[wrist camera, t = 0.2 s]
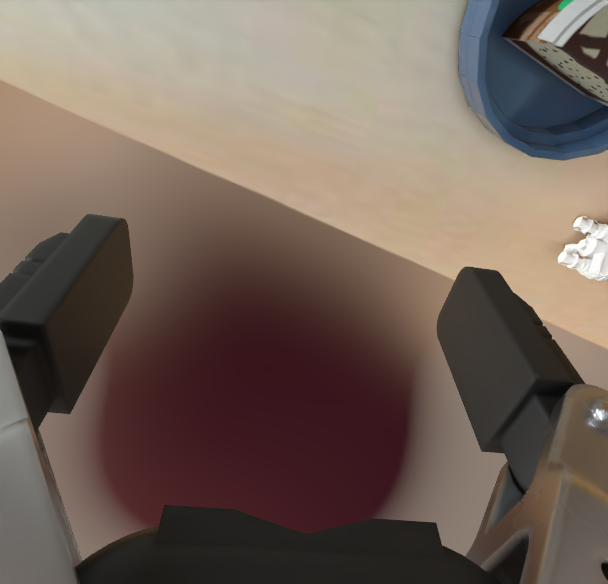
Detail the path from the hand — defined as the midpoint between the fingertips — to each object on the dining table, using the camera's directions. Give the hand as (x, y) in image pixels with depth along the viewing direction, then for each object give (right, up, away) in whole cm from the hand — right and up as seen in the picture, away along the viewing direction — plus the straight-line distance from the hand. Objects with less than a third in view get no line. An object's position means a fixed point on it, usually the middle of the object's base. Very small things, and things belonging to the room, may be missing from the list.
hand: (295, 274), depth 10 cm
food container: (+21, +20, +22) cm, 36 cm away
